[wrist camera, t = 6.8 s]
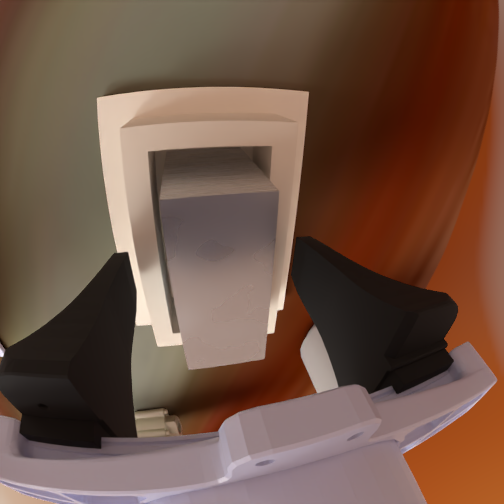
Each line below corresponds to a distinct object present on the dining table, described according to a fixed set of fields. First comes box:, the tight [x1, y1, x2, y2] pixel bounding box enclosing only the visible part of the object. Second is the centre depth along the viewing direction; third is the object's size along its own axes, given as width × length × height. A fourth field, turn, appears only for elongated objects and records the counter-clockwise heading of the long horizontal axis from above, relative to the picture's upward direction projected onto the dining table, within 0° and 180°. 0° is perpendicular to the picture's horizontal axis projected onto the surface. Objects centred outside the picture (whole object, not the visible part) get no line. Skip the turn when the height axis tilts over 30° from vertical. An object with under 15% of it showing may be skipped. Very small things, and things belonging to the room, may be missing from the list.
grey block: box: [159, 147, 279, 370], centre depth 13 cm, size 4×8×6 cm, turn 178°
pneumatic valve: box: [134, 408, 182, 438], centre depth 22 cm, size 6×12×12 cm, turn 97°
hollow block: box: [97, 87, 309, 347], centre depth 15 cm, size 10×14×4 cm
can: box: [300, 324, 338, 393], centre depth 20 cm, size 8×8×12 cm
